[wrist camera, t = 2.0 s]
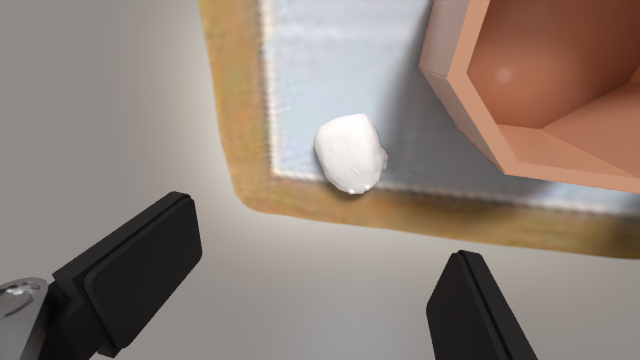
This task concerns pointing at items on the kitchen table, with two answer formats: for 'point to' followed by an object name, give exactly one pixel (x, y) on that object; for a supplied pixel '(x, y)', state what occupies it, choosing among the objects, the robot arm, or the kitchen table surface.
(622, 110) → the bowl
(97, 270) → the robot arm
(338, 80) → the kitchen table surface
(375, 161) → the garlic
